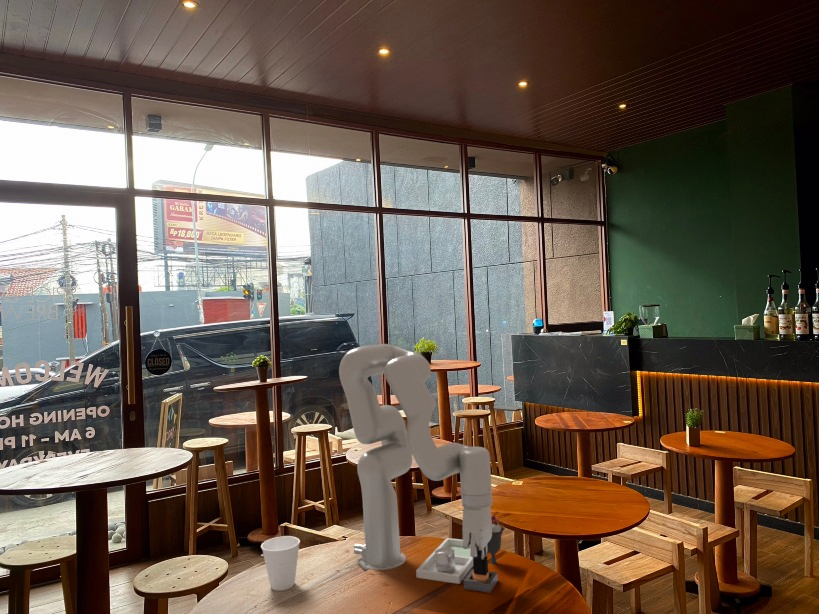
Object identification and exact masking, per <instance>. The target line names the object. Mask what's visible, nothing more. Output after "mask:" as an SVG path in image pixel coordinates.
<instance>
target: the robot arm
mask: <svg viewBox="0 0 819 614" xmlns="http://www.w3.org/2000/svg"><path fill="white" fill-rule="evenodd" d="M431 369H432V368H431V365H430V363H429V361H428V360H427V359H426V358H425V356H423V355H422V354H420V353H417V352H413V351H411V350H408V349H404V348H402V347H400V346H396V345H392V344H390V343H389V344H388V343H380V344H372V345H363V346H358V347H355V348H353V349H350V350H349V351H348V352H346V353H345V354H344V356H343V357H342V358H341V360H340V364H339V367H338V374H339V380H340V383H341V386H342V389H343V391H344V394H345V397H346V402H347V406H348V411H349V414H350V419H351V424H352V429H353V431H354V436H355V437H356V440H357V441H358V442H359V443H361V444H362V445H372V444H376V443H379V442H381V445H380V446H377V447H374V448H371V449H369V450H367V451H366V452H364V453H363V454H362V455H361V456H360V457H359V459H358V462H357V470H356V471H357V475H358V479H359V482H360V487H361V489H360V490H361V497H362V510H363V511H362V513H363V531H364V544H362V543H355V544H354V546H353V554H354V555H361V558H360V560H359V563H360V565H359V566H360V567H361V568H362V569H363V570H364V571H369V570H376V571H383V570H391V569H394V568H397V567H400V566H402V565H404V564H405V562H406V559H407V557H406V555H405V554H404V553H403V552H401V545H400V528H399V524H400V523H399V512H398V511H399V508H398V498H397V493H396V490H395V488H394V486H393V484H392V480H394V479H396V478H398V477H400V476H403V475H404V474H406V473H408V472H409V470H410V469H411V467H412V466H413V465H412V464H413V458H414V461H415V462H416V464H417V466H418V467H419V470H420V471H421V472H422V473H423V475H424V476H425V477H426V478H428V479H429V480H431V481H434V482H435V481H437V482H438V481H443V480H444V479H448V478H449V477H451V476H453V475H456V474H459V477H460V480H459V481H460V491H461V492H460V493H461V495H460V496H461V506H462V508H463V510H462V540H463V548H464V549H467V548H468V546H469V545H470V544H471V551H470V556H471V557H473V567H472V568H473V569H474V574H479V575H486V574H487V573H488V571H489V562H488V551H487V543H488V542H489V541H490V539H491V537H492V519H491V517H492V512H491V507H492V506H493V493H492V492H493V491H492V490H493V489H492V474H491V473H492V471H491V470H492V469H491V456H490V452H489V450H488V449H487V448H486V447H482V446H468V445H465V444H463V443H459V442H449V443H446V444H443V445H441V446H439V447H437V445H436V443H435V441H434V439H433V437H432V435H431V431H430V430H431V429H430V419H431V416H432V415H433V412H434V410H435V409H436V404H437V403H436V401H435V399H434V397H433V395H432V393H431V392H430V391H429V389H428V387H427V385H426V382H427V381H428V380H430V377H431V374H432V372H431ZM383 374H384V377H385V379H386V381H387V383H388V385H389V387H390V389H391V391H392V393H393V394H394V396H395V398H396V400H397V403H398V404H399V406H400V408H401V410H402V411H403V414H404V415H405V416H406V420H407V425H406V423H405V420H404V418H403V416H402V414H401V412H400V411H399V410H398V409H397V407H394V406H393V405H389V404H384V405H380V402H379V399H378V394H377V391H376V389H375V387H374V386H373V384H372V382H370V381H369V379H368V378H369V377H372V376H378V375H383Z"/></svg>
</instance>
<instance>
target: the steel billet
mask: <svg viewBox="0 0 819 614" xmlns="http://www.w3.org/2000/svg"><path fill="white" fill-rule="evenodd" d="M436 549H437V548H436ZM436 549H435V550H436ZM435 550H434V551H435ZM435 558H436V572H442V573H449V574H453V573H454V572H455V554H454V550H453V549H451V548H440V549H437V550H436V551H435Z"/></svg>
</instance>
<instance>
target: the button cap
mask: <svg viewBox="0 0 819 614" xmlns="http://www.w3.org/2000/svg"><path fill="white" fill-rule="evenodd" d="M472 576H473V580H478V581H485V582H487V581H488V579H489V573H487V574H486V575H479V574H474V571H473V573H472Z"/></svg>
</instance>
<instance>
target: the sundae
mask: <svg viewBox="0 0 819 614" xmlns="http://www.w3.org/2000/svg"><path fill="white" fill-rule="evenodd" d="M498 513H499V512H498V511H495V513H493V515H491V519H492V537H491V539H490V541H489V542H488V543H487V553H489V554H490V558H491V559H490V562H489V564H490V565H497V564H498V562H497V559H496V555H497V554H498V553H499V551H500V550H501V545H502V534H503V532H504V530H505V528H506V527H504V526H502V525H501V524H500V523H499V521H498V520H497V517H496V515H497V514H498Z"/></svg>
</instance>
